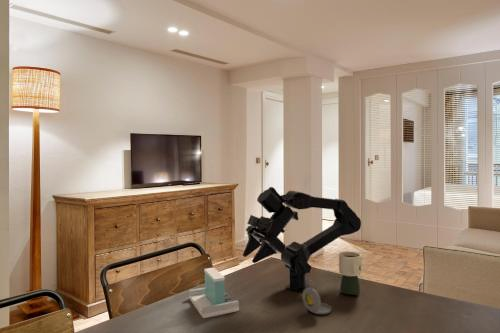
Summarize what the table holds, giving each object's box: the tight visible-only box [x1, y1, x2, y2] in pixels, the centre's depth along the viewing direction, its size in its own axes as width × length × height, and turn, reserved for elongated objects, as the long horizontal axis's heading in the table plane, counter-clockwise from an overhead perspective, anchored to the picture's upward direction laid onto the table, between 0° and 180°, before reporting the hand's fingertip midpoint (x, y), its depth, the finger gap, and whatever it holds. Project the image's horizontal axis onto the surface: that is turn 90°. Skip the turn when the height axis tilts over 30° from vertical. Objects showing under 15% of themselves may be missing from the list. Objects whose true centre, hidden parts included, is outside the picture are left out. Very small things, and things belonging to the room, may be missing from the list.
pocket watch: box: [301, 279, 332, 315], centre depth 106 cm, size 8×8×10 cm
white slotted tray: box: [188, 286, 240, 319], centre depth 112 cm, size 11×15×3 cm
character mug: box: [338, 250, 362, 296], centre depth 119 cm, size 11×7×13 cm, turn 179°
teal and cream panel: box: [203, 267, 226, 305], centre depth 112 cm, size 3×10×8 cm, turn 25°
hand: (248, 259), depth 116 cm, fingers open, 7 cm apart
